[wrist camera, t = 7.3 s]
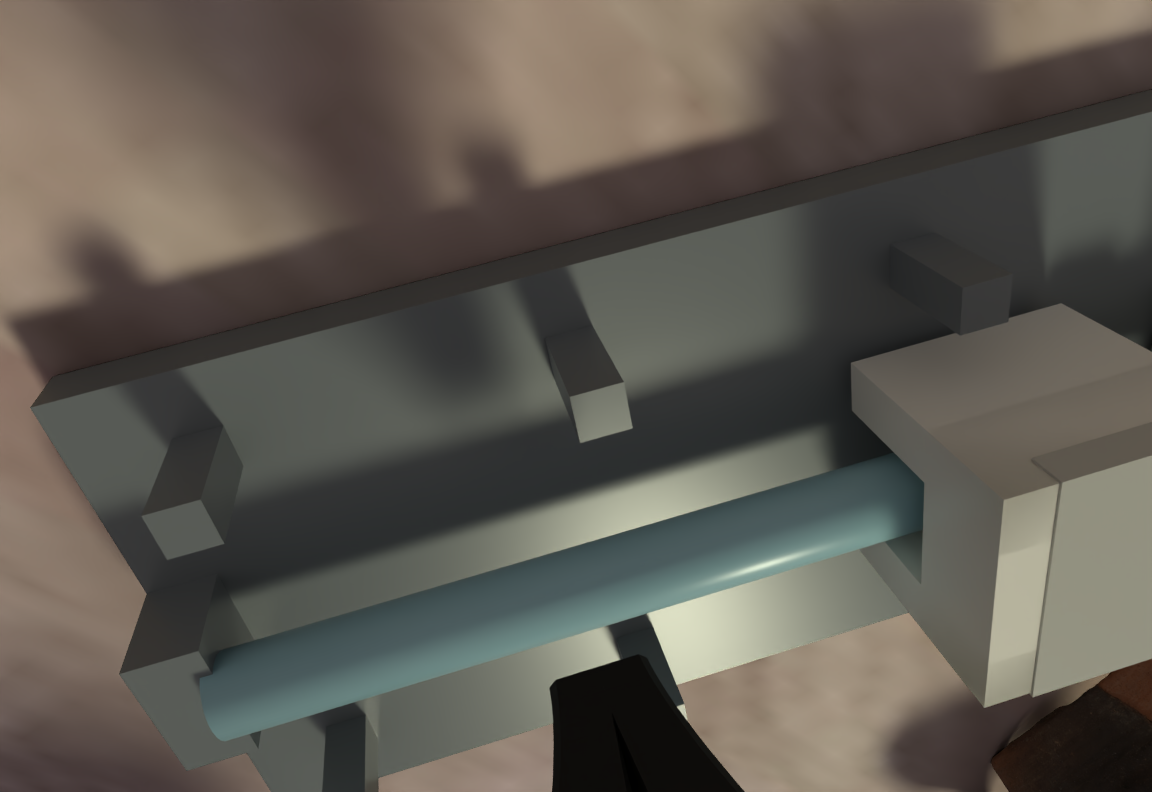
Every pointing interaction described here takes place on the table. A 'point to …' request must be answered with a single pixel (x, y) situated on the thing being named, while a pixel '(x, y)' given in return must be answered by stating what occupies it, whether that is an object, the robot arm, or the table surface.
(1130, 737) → the pottery mug
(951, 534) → the sleeve
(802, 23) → the table surface
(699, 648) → the miniature lathe model
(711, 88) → the table surface
